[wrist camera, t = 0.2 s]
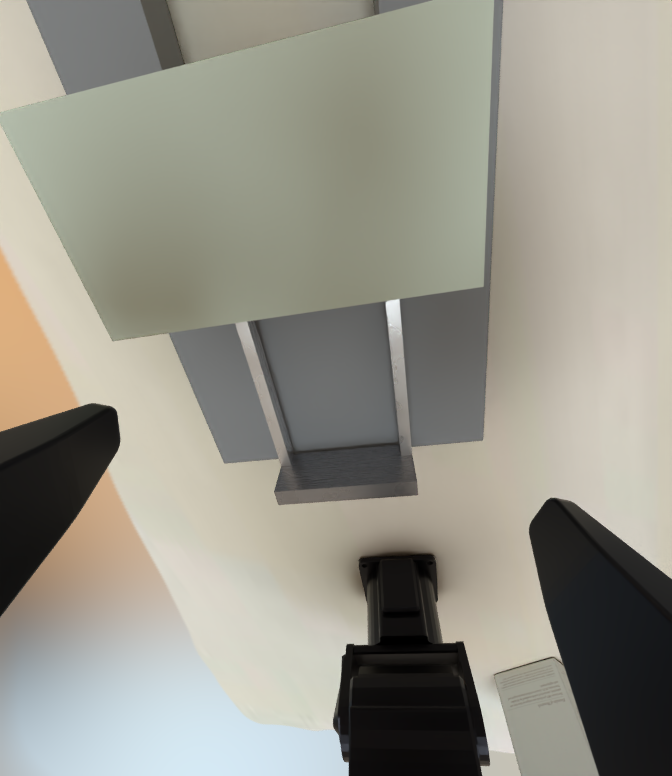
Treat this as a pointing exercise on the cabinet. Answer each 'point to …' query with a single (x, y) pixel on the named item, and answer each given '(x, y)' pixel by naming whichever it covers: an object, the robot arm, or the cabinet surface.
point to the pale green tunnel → (275, 173)
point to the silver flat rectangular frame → (339, 467)
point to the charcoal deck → (313, 329)
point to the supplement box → (544, 721)
